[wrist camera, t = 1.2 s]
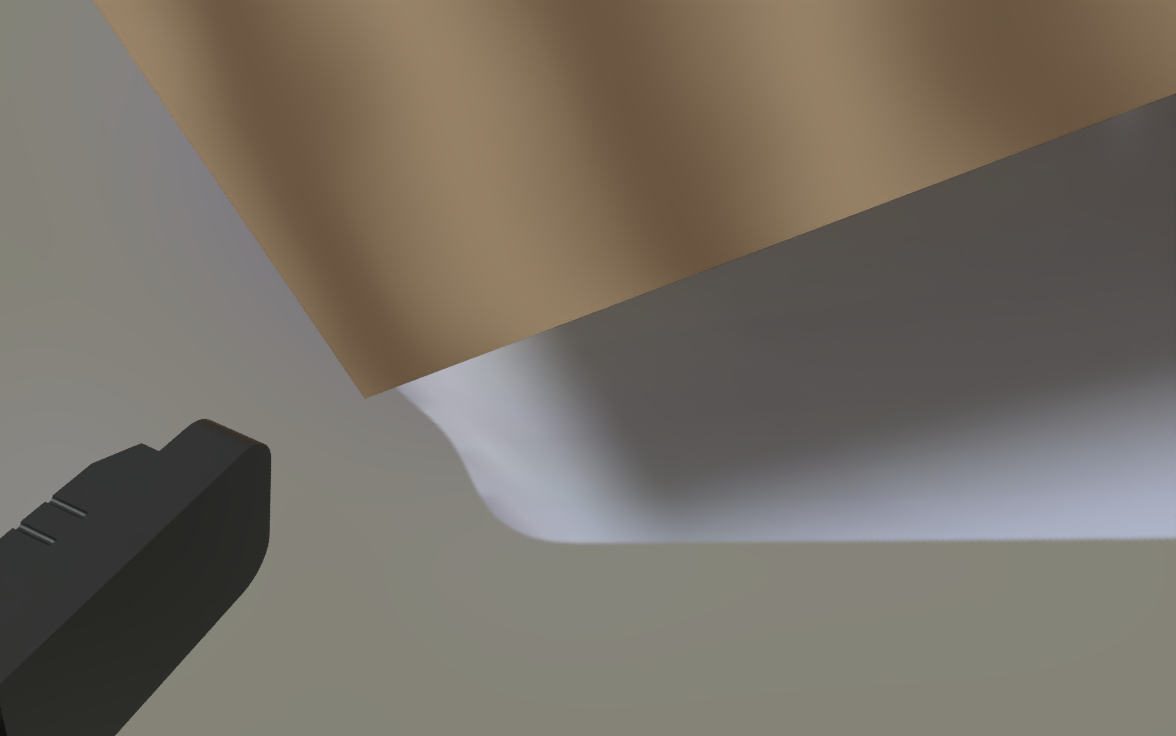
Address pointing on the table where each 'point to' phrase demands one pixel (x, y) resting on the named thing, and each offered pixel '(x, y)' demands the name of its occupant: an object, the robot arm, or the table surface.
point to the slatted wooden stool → (598, 137)
